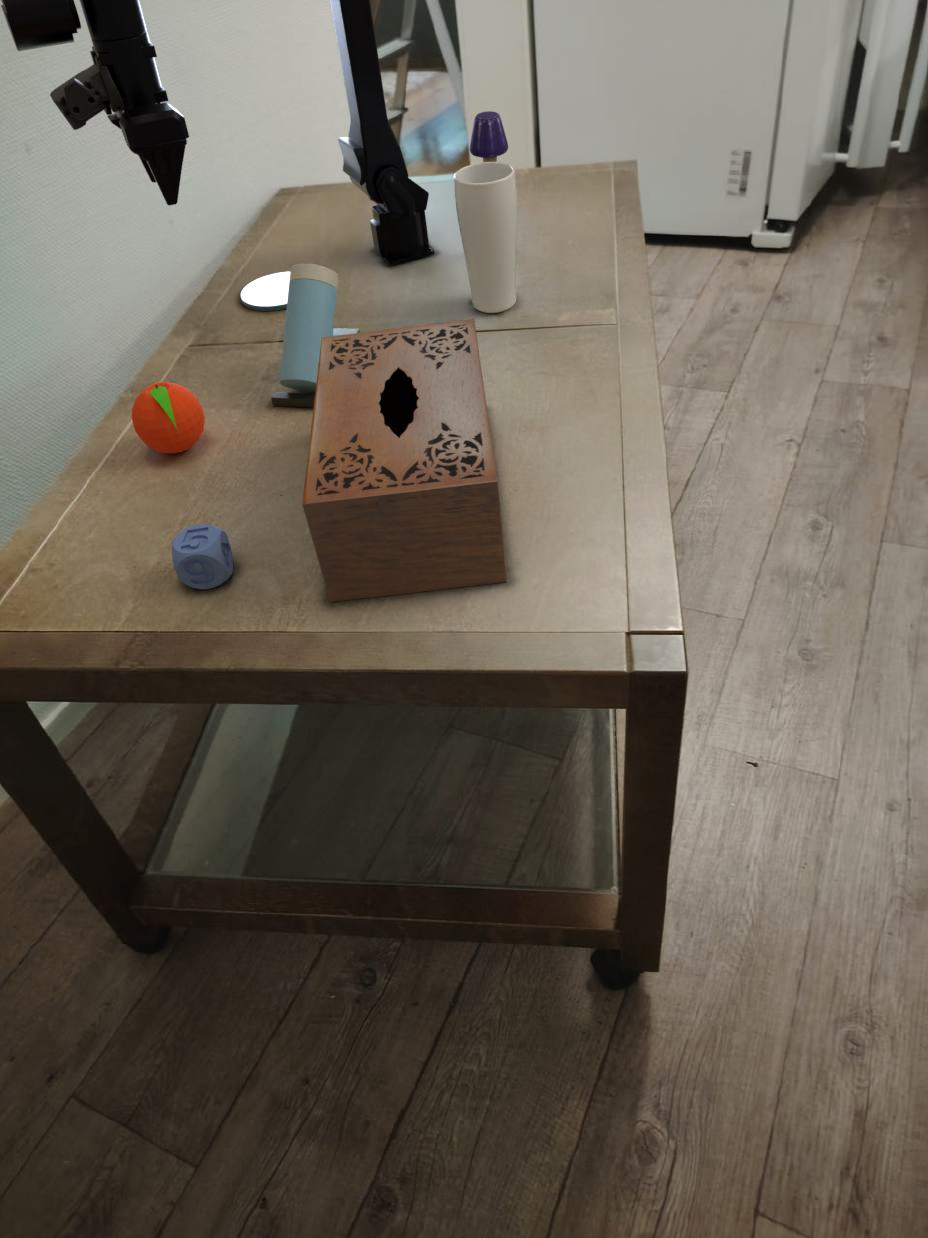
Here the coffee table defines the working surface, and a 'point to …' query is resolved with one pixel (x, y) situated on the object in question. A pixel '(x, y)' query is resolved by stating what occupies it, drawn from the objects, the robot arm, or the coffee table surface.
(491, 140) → the toy lamp
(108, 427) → the coffee table surface
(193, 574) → the decorative dice
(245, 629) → the coffee table surface
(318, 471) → the tissue box cover
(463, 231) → the drinking glass
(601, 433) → the coffee table surface
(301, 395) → the cradle
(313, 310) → the plastic bottle
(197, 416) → the clementine
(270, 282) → the coaster
